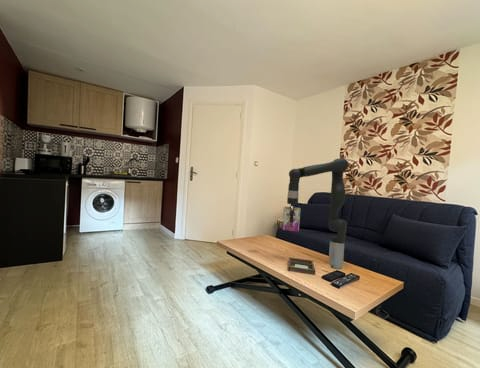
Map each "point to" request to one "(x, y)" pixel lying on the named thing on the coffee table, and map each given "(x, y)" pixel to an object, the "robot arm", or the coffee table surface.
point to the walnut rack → (301, 262)
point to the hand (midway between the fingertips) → (291, 221)
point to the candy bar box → (286, 220)
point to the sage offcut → (301, 266)
